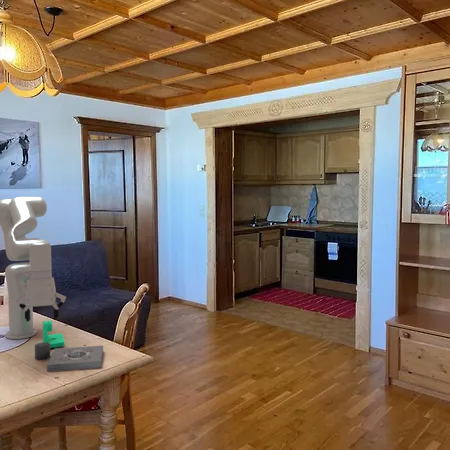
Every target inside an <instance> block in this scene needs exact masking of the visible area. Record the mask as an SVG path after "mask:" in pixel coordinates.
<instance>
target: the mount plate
mask: <svg viewBox="0 0 450 450" xmlns="http://www.w3.org/2000/svg"><path fill="white" fill-rule="evenodd" d="M103 356H104V345H91V346H89V345H88V346H75V347H73V346H72V347H54V349H53V351H52V353H51V354H50V358H49V359H48V362H47V363H46V372H47V373H48V372H62V371H75V370H89V369H90V370H92V369H101V367H102V361H103Z"/></svg>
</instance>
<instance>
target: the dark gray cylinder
mask: <svg viewBox="0 0 450 450" xmlns="http://www.w3.org/2000/svg"><path fill="white" fill-rule="evenodd" d="M50 357H51V348H50V343H47V342H43V341H42V342H38V343H36V344H34V360H36V361H46V360H50Z"/></svg>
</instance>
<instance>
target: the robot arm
mask: <svg viewBox="0 0 450 450" xmlns="http://www.w3.org/2000/svg"><path fill="white" fill-rule="evenodd" d="M47 209H48V207H47V202H46V201H45V199H44V198H43V197H41V196H17V197H13V198H5V199H4V198H3V199H0V227H1V230H2V234H3V239H4V240H3V241H4V246H5V254H6V257H7V259H8V260H9V261H14V262H16V263H11V264H8V266H6V268H5V271H4V277H5V281H6V286H7V300H8V303H7V304H8V331H7V332H5V335H4V336H5V338H6V339H9V340H23V339H28V338H31V337H34V336H36V335H37V334H38V329H36V328H34V311H33V310H34V309H33V308H34V307H50V306H52V307H53V308H54V309H53V320H54V321H56V320H57V319H58V318H60V315H59V314H60V312H59V311H60V309H59V308H61V307H62V306H63V304H64V302H65V301H66V299H67V296H66V295H63V294H60V293H59V292H57V290H56V289H57V288H56V283H55V278H54V277H53V275H52V246H51V243H50V242H49V241H47V240H46V239H41V238H37V237H35V238H34V237H33V238H27V237H26V235H29V234H30V233H32V232H34V230H36V229H37V227H38V220H37V218H41V217H45V215H46V214H47ZM18 261H19V262H18ZM20 261H22V262H20ZM23 261H25V262H23ZM27 261H28V262H27ZM57 298H58V299H60V302H59V303H58V302H57Z"/></svg>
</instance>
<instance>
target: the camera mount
mask: <svg viewBox="0 0 450 450" xmlns="http://www.w3.org/2000/svg"><path fill="white" fill-rule="evenodd" d="M49 332H50V333H51V332H53V321H52V320H46V321H45V320H43V321H42V340H43V341H42V343H43V342H47V343H50V349H51V348H52V349H53V348H62V347H64V346H65V338H64V335H63V333H55V334H49Z"/></svg>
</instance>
